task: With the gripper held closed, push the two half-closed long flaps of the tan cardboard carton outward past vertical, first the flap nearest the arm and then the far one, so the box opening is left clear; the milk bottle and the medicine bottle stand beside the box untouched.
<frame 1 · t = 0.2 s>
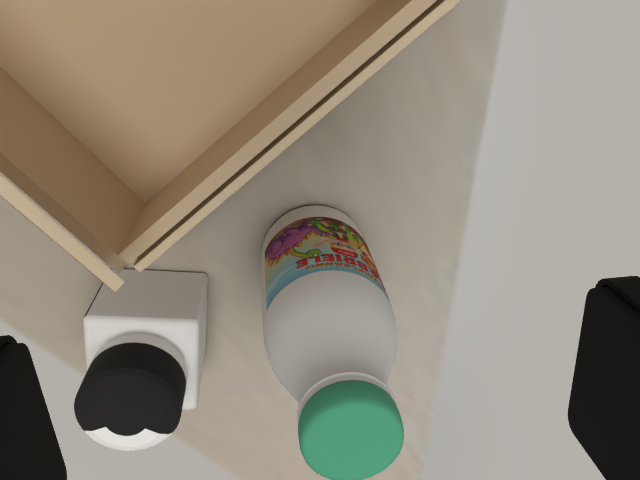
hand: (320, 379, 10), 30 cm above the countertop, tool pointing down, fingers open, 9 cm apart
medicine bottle: (160, 309, 43), on the countertop
milk bottle: (312, 249, 42), on the countertop
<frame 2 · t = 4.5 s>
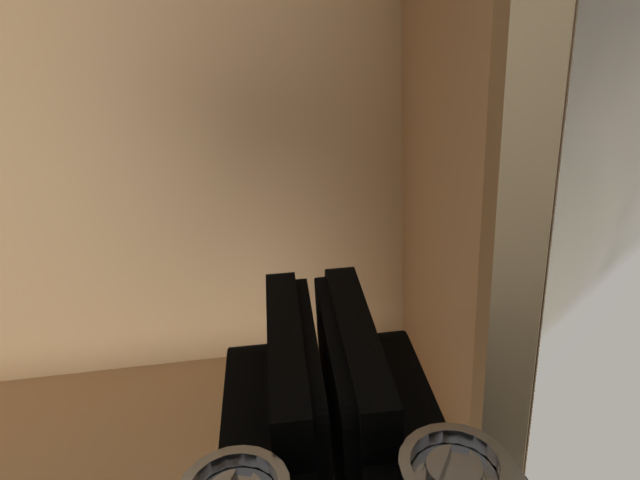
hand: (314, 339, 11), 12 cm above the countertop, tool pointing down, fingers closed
carton: (79, 181, 21), on the countertop
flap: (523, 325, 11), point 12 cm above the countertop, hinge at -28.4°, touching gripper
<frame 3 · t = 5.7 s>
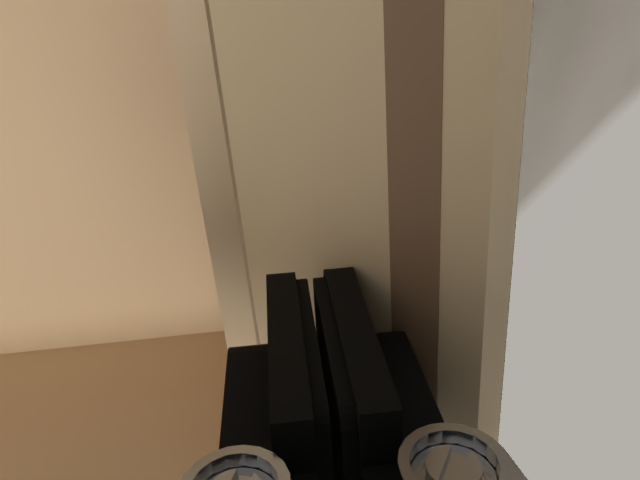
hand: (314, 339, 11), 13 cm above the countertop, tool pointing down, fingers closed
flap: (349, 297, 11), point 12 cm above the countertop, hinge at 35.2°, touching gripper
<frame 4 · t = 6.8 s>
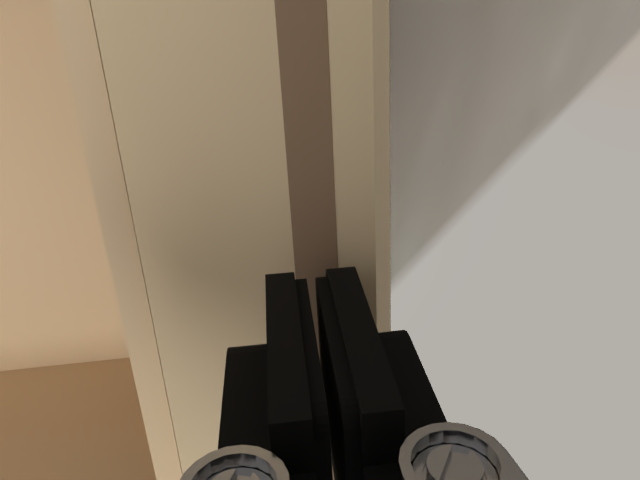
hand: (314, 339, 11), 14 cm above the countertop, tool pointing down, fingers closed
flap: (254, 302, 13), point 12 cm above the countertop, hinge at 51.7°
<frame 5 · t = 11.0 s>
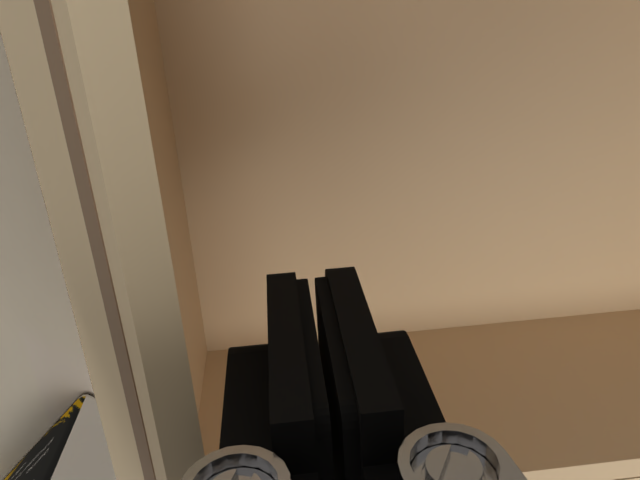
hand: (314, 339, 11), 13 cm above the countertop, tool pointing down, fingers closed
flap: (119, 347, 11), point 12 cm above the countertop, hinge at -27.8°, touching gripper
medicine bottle: (107, 468, 28), on the countertop
carton: (486, 144, 23), on the countertop
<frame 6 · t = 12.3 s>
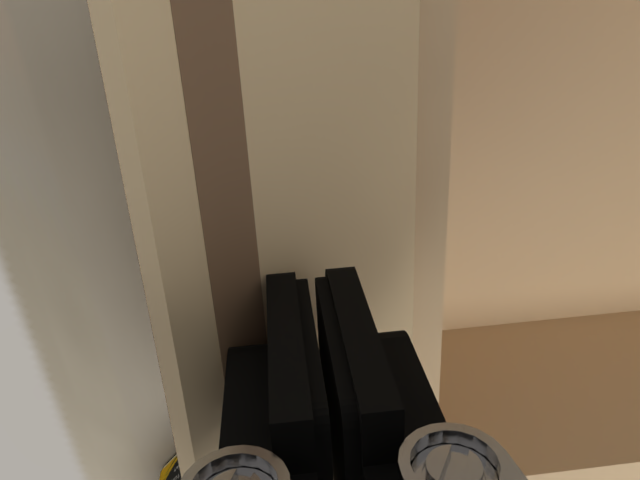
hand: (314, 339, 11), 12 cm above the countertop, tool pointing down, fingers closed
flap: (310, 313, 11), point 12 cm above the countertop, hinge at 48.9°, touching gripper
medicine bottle: (262, 454, 28), on the countertop
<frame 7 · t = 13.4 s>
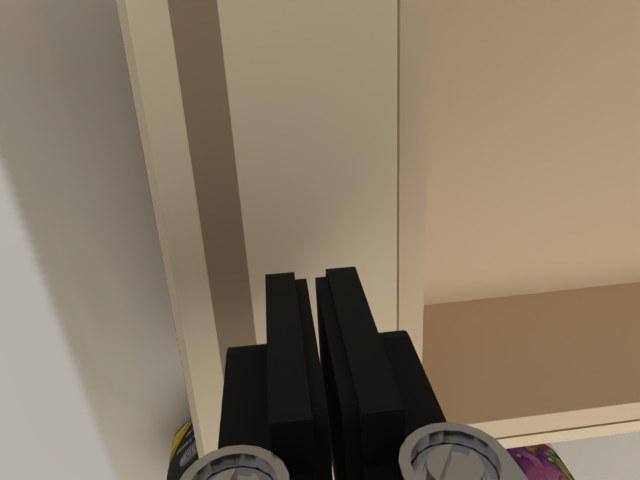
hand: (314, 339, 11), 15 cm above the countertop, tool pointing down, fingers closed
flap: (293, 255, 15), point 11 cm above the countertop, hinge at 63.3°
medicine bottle: (266, 422, 31), on the countertop
carton: (626, 122, 26), on the countertop
milk bottle: (475, 450, 33), on the countertop
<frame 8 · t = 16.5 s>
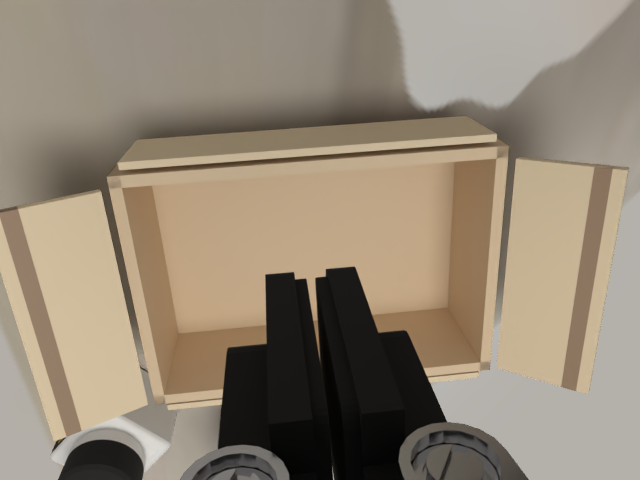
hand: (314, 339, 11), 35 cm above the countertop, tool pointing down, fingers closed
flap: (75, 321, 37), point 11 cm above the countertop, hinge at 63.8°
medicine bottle: (128, 395, 53), on the countertop
carton: (309, 234, 48), on the countertop
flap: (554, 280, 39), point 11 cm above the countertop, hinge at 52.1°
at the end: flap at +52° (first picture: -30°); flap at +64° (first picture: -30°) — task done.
